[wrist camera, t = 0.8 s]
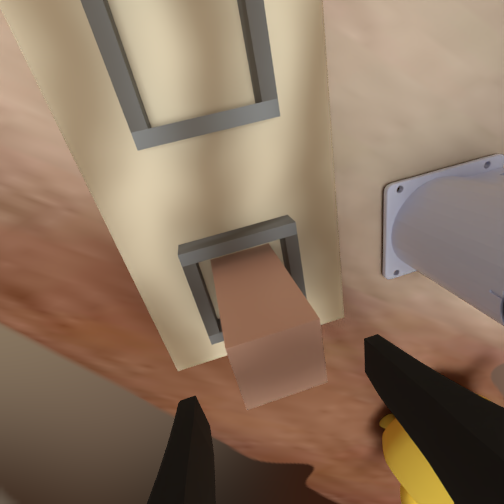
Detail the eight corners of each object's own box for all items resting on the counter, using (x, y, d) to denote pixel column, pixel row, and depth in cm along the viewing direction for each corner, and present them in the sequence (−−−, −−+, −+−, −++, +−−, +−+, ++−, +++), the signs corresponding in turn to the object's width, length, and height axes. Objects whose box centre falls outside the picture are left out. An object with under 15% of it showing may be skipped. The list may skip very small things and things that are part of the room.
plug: (268, 243, 18) (319, 318, 11) (278, 291, 20) (327, 382, 13) (210, 259, 18) (225, 348, 11) (225, 307, 20) (246, 410, 13)
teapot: (326, 454, 33) (395, 619, 22) (449, 337, 28) (613, 471, 17) (391, 470, 38) (472, 608, 27) (503, 373, 34) (655, 493, 23)
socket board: (300, -158, 12) (327, -225, 9) (338, 310, 23) (353, 329, 21) (-47, -110, 10) (-110, -174, 8) (178, 361, 22) (177, 387, 20)
